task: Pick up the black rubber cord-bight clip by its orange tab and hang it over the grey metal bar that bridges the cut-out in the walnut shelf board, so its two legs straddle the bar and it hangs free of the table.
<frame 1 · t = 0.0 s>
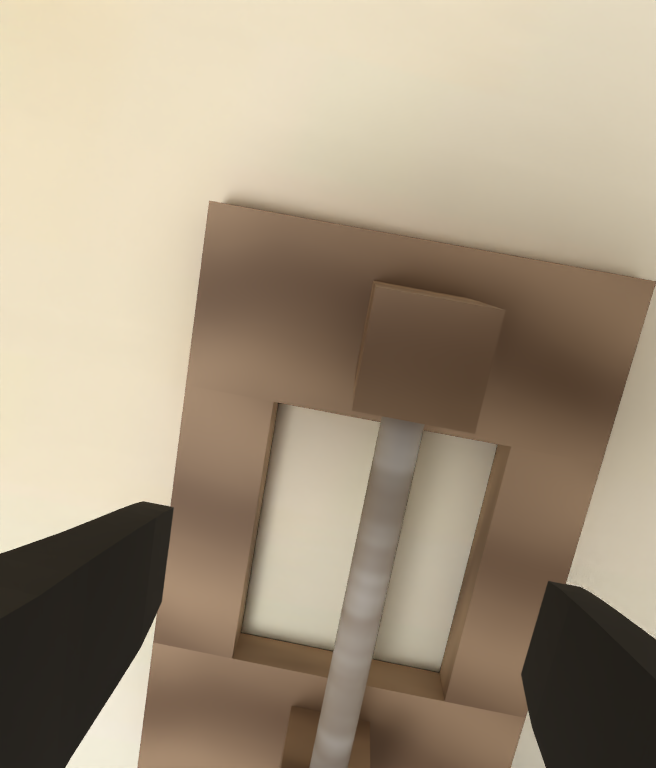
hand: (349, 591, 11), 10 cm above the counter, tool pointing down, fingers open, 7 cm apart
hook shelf: (363, 538, 21), on the counter
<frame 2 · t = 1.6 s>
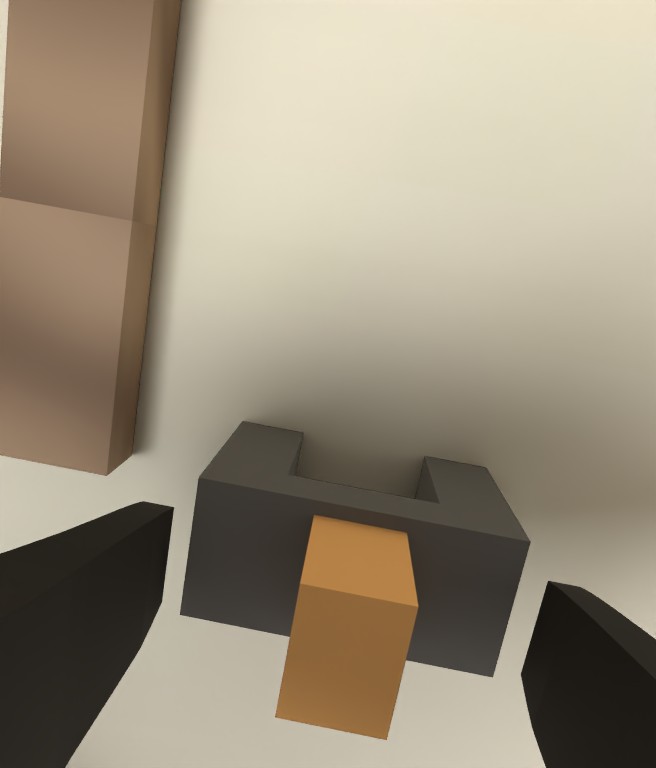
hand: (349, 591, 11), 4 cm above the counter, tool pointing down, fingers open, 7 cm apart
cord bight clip: (353, 497, 15), on the counter
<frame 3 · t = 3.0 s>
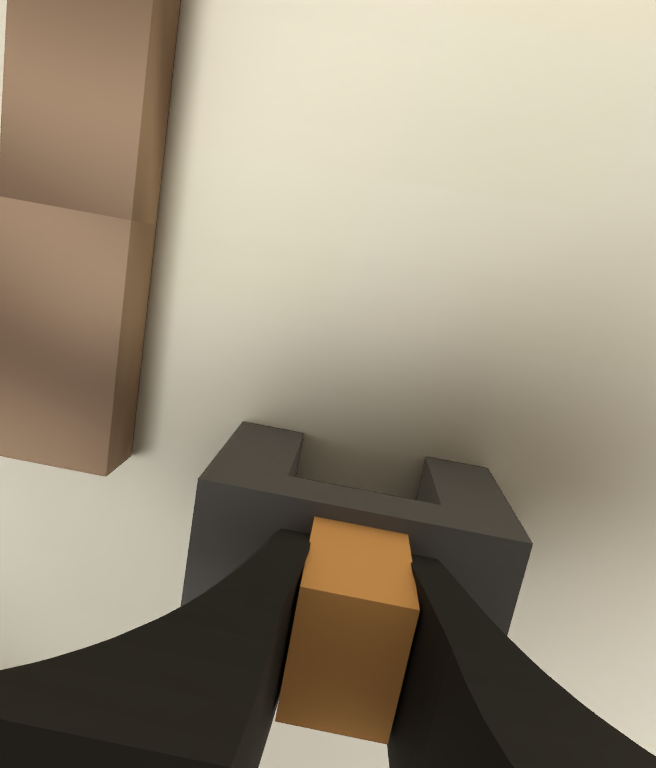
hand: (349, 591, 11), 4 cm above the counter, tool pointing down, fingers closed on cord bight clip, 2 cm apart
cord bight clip: (353, 498, 15), on the counter, touching gripper
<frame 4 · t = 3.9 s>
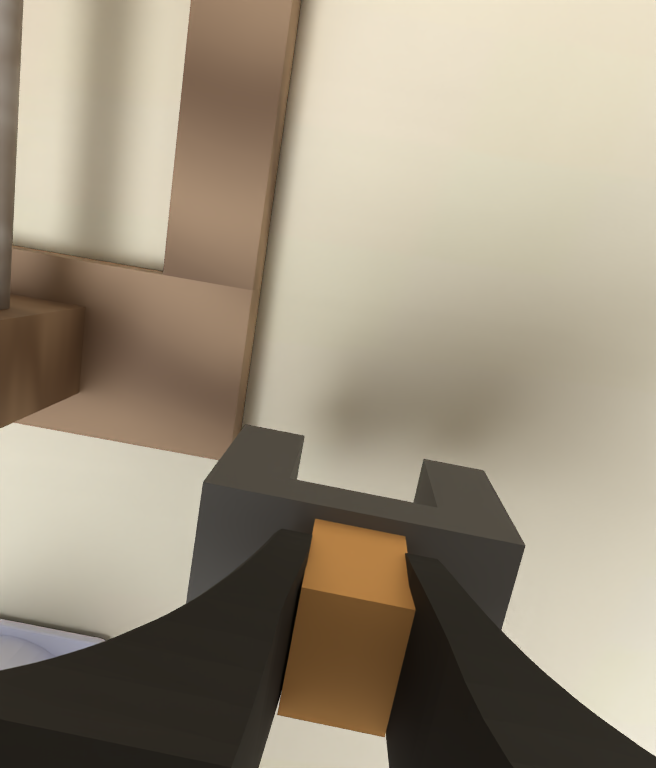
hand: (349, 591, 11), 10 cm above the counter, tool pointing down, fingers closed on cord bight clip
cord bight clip: (353, 499, 15), point 6 cm above the counter, touching gripper
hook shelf: (77, 104, 19), on the counter
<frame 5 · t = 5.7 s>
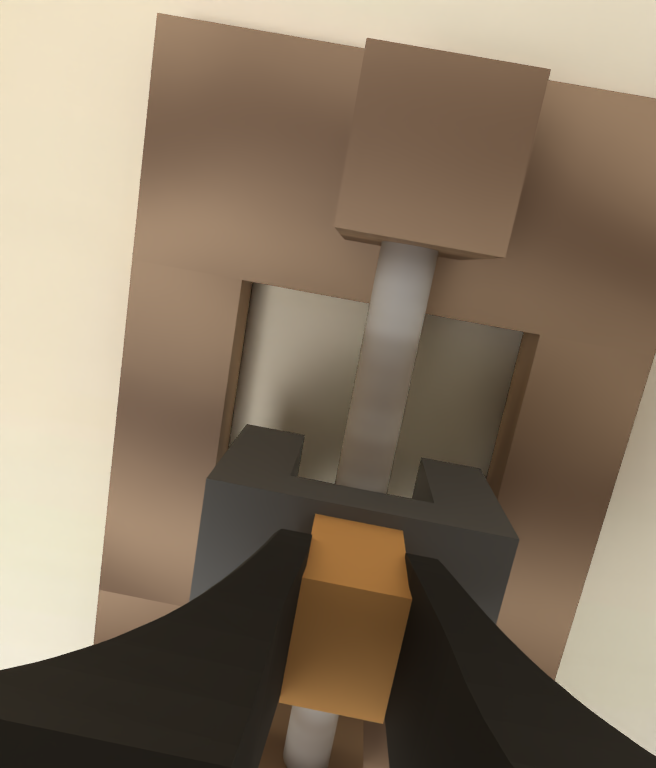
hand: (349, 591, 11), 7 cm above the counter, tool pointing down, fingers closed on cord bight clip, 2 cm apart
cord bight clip: (352, 497, 16), point 2 cm above the counter, touching gripper, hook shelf
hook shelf: (355, 463, 18), on the counter
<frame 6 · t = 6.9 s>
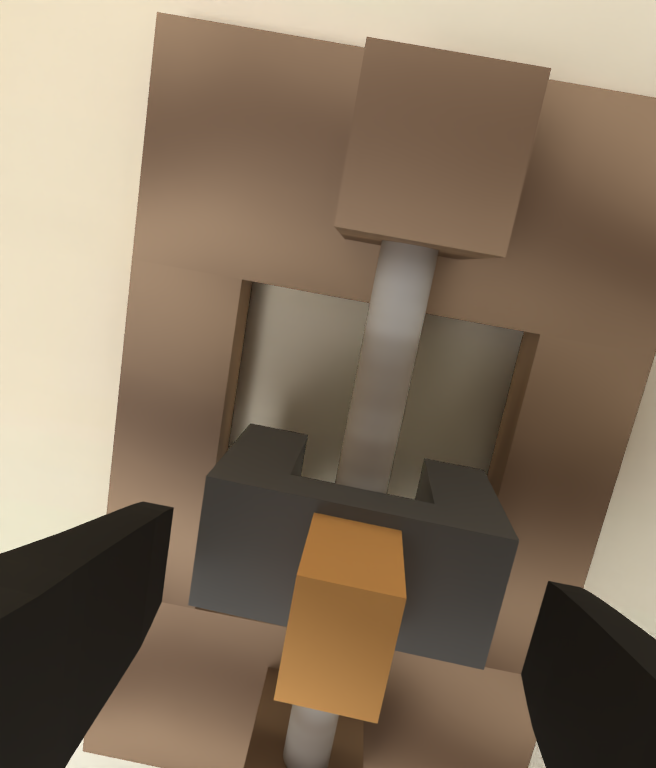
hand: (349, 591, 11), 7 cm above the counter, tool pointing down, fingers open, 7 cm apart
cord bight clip: (355, 497, 16), point 2 cm above the counter, touching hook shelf
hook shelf: (355, 463, 18), on the counter
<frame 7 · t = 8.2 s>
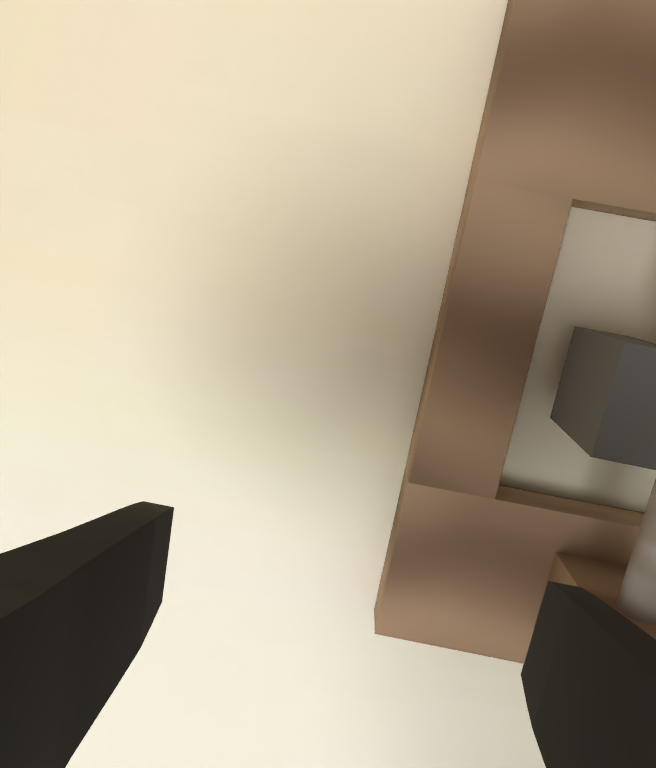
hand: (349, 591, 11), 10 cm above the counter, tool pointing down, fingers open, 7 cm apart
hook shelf: (633, 371, 20), on the counter
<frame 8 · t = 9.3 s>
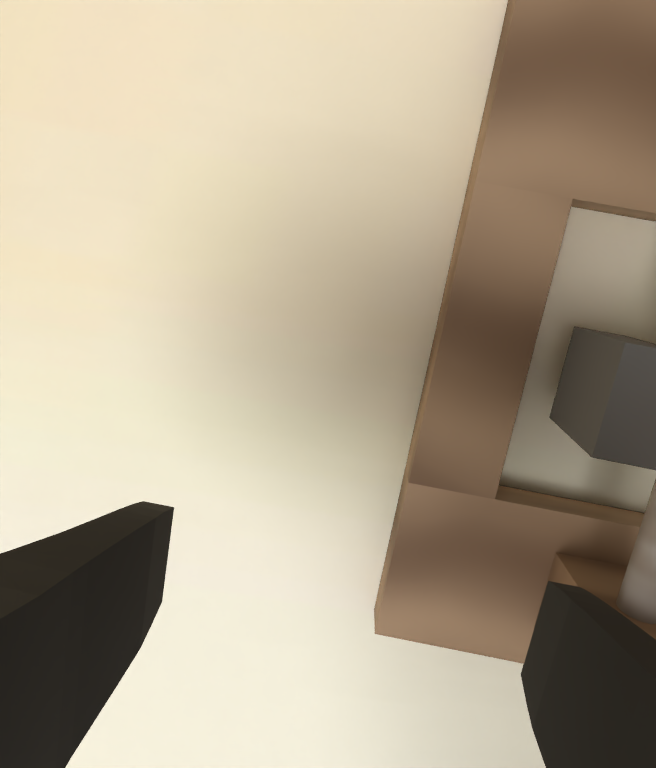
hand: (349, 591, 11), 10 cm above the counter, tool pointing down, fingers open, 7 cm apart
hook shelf: (633, 371, 20), on the counter
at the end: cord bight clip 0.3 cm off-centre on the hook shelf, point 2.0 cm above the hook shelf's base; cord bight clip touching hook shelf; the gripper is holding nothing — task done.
